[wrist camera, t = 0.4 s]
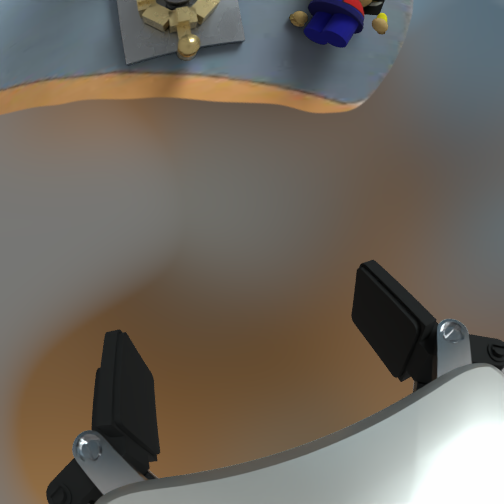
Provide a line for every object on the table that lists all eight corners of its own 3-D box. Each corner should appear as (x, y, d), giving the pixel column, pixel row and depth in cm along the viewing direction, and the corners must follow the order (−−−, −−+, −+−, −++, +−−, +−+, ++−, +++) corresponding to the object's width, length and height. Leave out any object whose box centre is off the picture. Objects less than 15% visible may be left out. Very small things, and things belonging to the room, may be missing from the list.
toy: (381, 71, 27) (408, -4, 21) (365, 36, 20) (396, -44, 14) (302, 49, 32) (334, -19, 26) (271, 20, 25) (310, -52, 19)
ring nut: (135, -19, 19) (131, -36, 14) (211, -33, 20) (217, -50, 16) (149, 69, 26) (145, 64, 21) (226, 53, 27) (236, 46, 23)
